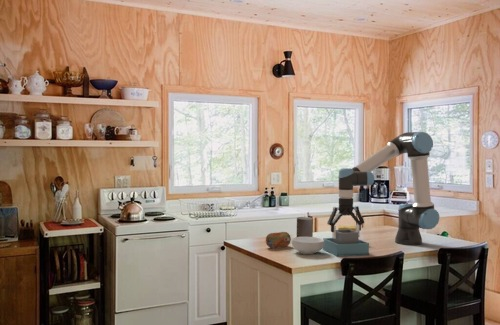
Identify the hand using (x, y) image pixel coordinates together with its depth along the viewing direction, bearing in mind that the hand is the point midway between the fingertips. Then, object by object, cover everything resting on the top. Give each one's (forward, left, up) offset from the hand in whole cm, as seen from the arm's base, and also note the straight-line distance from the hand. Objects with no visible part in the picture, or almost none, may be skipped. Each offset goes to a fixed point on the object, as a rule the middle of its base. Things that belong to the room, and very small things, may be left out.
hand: (345, 237), depth 256 cm
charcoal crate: (0, 0, -7) cm, 7 cm away
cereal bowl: (+20, -3, -8) cm, 22 cm away
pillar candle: (+10, -34, -8) cm, 36 cm away
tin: (+31, -20, -8) cm, 38 cm away
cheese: (-11, -21, -8) cm, 25 cm away
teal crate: (0, 0, -8) cm, 8 cm away
